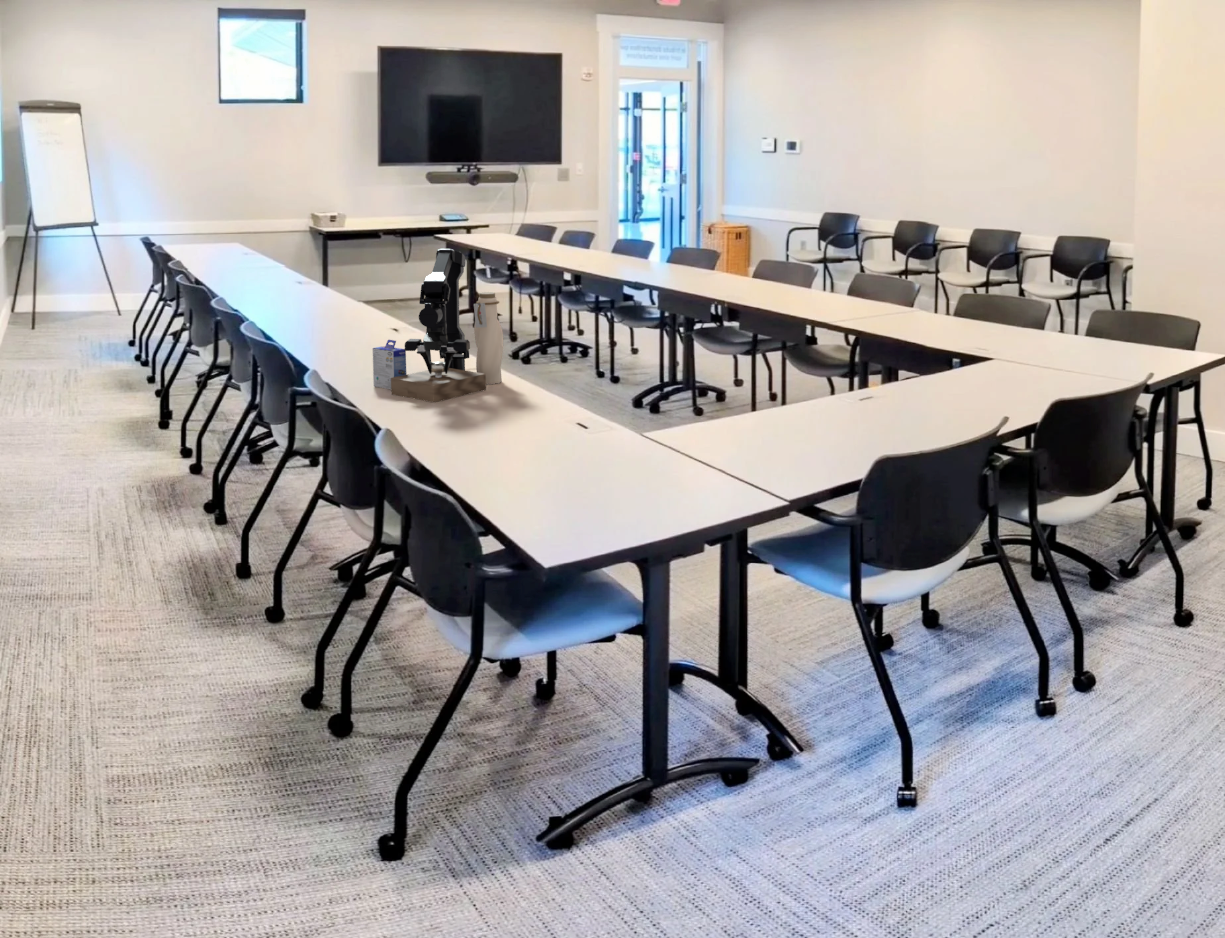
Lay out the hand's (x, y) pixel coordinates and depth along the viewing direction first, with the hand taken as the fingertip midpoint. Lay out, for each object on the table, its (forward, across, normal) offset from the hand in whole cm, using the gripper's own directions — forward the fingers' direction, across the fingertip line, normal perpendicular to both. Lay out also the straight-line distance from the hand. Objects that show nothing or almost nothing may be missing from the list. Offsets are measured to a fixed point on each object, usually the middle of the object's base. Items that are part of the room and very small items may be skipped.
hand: (438, 373), depth 341 cm
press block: (+6, 0, 0) cm, 6 cm away
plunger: (+6, 0, 0) cm, 6 cm away
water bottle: (+6, +13, +16) cm, 21 cm away
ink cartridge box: (+6, -16, +6) cm, 18 cm away
